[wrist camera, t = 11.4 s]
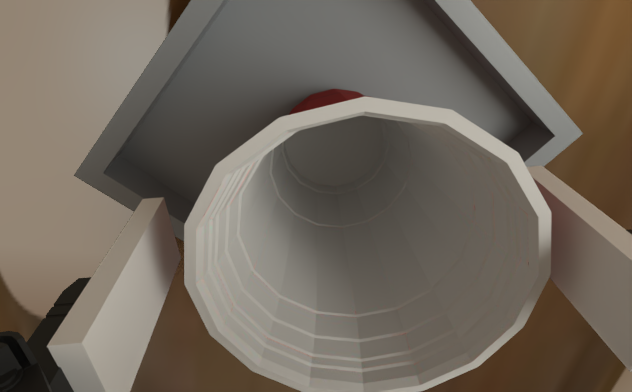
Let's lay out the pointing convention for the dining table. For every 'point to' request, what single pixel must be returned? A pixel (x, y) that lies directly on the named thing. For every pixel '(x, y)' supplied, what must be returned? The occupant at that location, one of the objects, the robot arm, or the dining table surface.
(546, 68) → the dining table surface
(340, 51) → the tray
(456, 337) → the plastic cup
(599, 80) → the dining table surface
